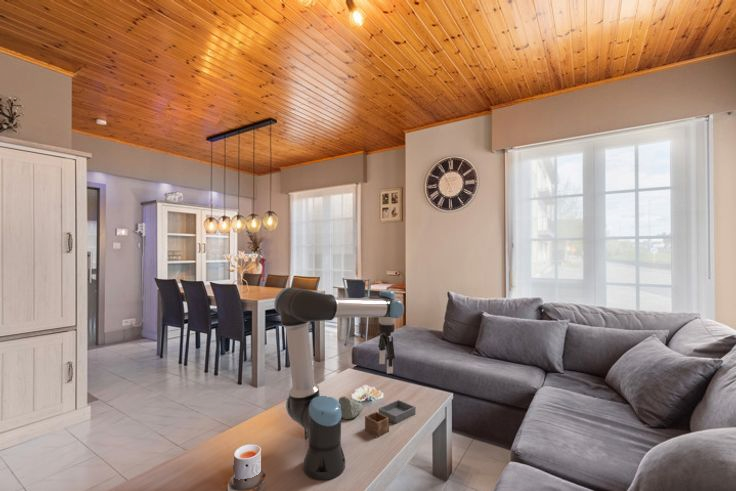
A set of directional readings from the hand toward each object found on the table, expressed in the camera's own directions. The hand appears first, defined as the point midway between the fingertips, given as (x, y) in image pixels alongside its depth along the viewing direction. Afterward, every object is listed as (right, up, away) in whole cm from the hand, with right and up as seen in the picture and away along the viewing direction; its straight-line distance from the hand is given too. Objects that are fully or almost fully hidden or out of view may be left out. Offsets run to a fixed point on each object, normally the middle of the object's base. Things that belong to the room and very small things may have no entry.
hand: (385, 368), depth 163 cm
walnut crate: (-5, -23, -13) cm, 27 cm away
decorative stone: (-17, -24, +2) cm, 29 cm away
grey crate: (+6, -24, +2) cm, 24 cm away
